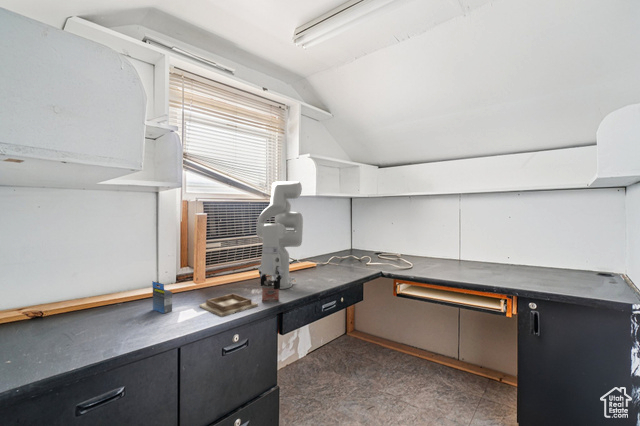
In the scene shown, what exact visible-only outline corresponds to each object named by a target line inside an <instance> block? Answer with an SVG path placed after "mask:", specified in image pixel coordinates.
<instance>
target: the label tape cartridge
mask: <svg viewBox="0 0 640 426" xmlns="http://www.w3.org/2000/svg"><path fill="white" fill-rule="evenodd" d="M151 284H152V310H153V311H156V312H159V313H162V314H167V313H171V312H172V311H173V291H170V290H167V289H165V286H164V285H165V284H164V283H161V282H157V281H152V283H151Z"/></svg>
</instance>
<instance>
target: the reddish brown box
mask: <svg viewBox="0 0 640 426" xmlns="http://www.w3.org/2000/svg"><path fill="white" fill-rule="evenodd" d="M274 281H275V280H273V281H272V279H268V280H267V281H264V284H265V285H263V286H261V293H262V294H261V303H264V304H271V303H270V302H272V303H278V302H280V296H279V295H280V289H276V290H274V284H273V285H272V283H274Z"/></svg>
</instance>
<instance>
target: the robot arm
mask: <svg viewBox="0 0 640 426" xmlns="http://www.w3.org/2000/svg"><path fill="white" fill-rule="evenodd" d="M302 190H303V188H302V184H301V182H300V181H298V180H297V181H293V180H292V181H291V180H289V181H288V180H287V181H286V180H282V181H280V180H279V181H275V182H273V183H272V184H271V195H270V200H269V205H268V206H267V207H265V209H263V210H262V212H261V213H260V214H259V216H258V218H257V223H256V228H255V229H256V230H255V232H256V236H257V237H258V238H259V239H262V246H261V248H262V252H261V258H260V265H259V266H258V267H257V270H258V274H259V277H260V287H262V286H263V285H265V284H264V281H268V280H267V279H268V277H267V276H271V281H273V280H275V281H274V283H272V285H273V284H274V290H276V289H279V290H284V289H289V288H291V287H292V286H293V284H292V283H291V282H293V281H296V277H294V276H293V277H290V253H289V251H288V250H287V249H286V248H298V247H300V246H302V243H303V230H304V229H303V227H304V225H303V224H304V218H303V215H302V213H301V212H300V211H299V212H298V211H291V210H292V209H291V208H292V206H291V205H292V204H291V202H289V200H290V199H293V200H294V199H298V198H299V197H300V196H301V195H302ZM288 199H289V200H288ZM273 217H274V223H273V222H272V223H271V222H269V223H267V220H270V219H271V218H273Z"/></svg>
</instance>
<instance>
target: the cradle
mask: <svg viewBox="0 0 640 426" xmlns="http://www.w3.org/2000/svg"><path fill="white" fill-rule="evenodd" d="M205 301H206V302H204V303H201V304H200V303H199V308H202V309H204V310H206V311H208V312H211V313H213V314H214V313H215V315H217V316H218V317H221V316H222V317H225V315H226V316H228V314H229V315H231V314H234V313H235V312H236V313H238V311H239V312H242V310H243V311H246V310H249V309H253V308H256V307H258V306H259V304H258V303H257V302H254V301H253V300H252V298H249V297H246V296H243V295H241V294H237V293H235V292H234V293H229V294H226V295H222V296H216V297H212V298H209V299H206V300H205ZM245 309H246V310H245ZM236 313H235V314H236Z"/></svg>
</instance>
